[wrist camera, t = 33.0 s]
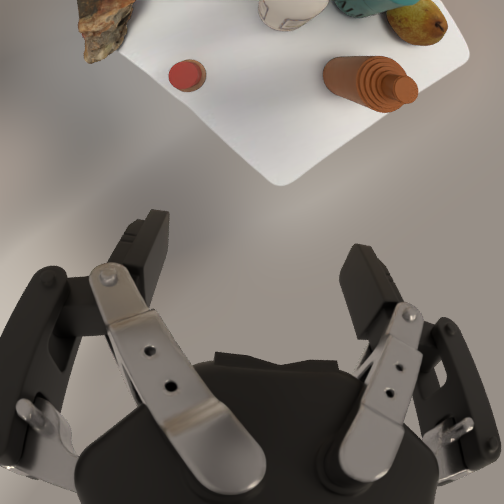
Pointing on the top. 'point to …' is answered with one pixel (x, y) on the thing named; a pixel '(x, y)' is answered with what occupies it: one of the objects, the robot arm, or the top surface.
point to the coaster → (200, 79)
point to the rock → (103, 26)
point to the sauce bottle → (370, 82)
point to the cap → (185, 75)
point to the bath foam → (289, 12)
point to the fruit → (418, 23)
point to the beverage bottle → (370, 6)
